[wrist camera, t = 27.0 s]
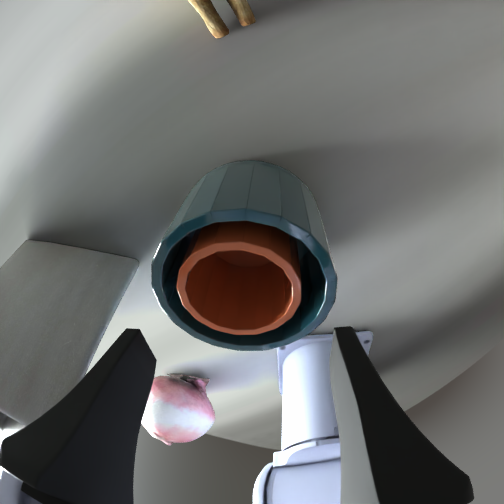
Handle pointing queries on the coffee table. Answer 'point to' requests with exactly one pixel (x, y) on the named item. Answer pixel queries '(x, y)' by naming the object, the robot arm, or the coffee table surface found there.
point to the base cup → (259, 211)
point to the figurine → (214, 21)
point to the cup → (241, 277)
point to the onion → (178, 409)
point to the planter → (52, 323)
